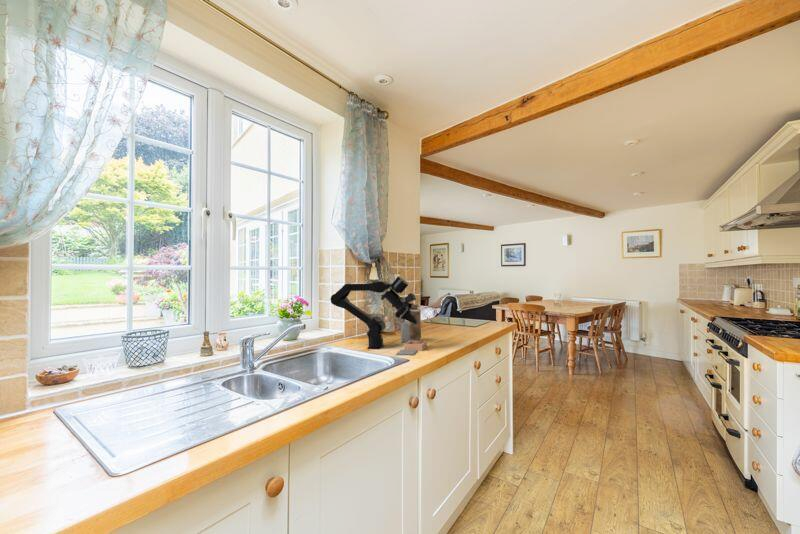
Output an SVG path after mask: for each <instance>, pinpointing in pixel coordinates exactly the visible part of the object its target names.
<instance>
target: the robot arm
mask: <svg viewBox="0 0 800 534" xmlns="http://www.w3.org/2000/svg"><path fill="white" fill-rule="evenodd" d="M408 286H409V283H408V282H407V281H406V280H405V279H403V278H402V277H401V276H397V277H396V278H395V280H394V281H393V282H392V283H389V282H387V281H386V280H379V281H375V282H371V283H345V284H344V285H342V287H340V289H338V291H336V292H335V293H333V294H332V295H331V296H330V303H331V304H332V305H333V306H336V307H338V308H341V309H344V310H346V311H347V312H349V313H350V314H352V315H353V316H354V317H356V318H357V319H359V321H362V322H363V323H364V324H366V326H367V327H368V329H369V330H368V331H367V332H366V334H367V337H368V346H367V349H368V350H370V349H373V350H380V349H382V348H383V347H385V346H384V338H383V331H385V330H386V328H387V327H386V326H387V325H386V322H385V321H384V319H382V318H380V316H378V315H376V316H374V317H373V316H371V315H370V314H368V313H366V312H365V311H364V310H362V309H361V308H360V307H358V306H356V305H355V304H353V303H352V302H351V301H350V299H349V298H348V297H349V294H350V293H351V292H354V291H355V292H358V291H361V292H365V291H366V292H367V291H369V292H373V293H380V294H381V293H383V294H381V295H380V296H381V299H380V300H381V301H384V300H385V299H386V300H387V301H388V303H390V305H391V307H392V308H395V309H396V312H394V315H395V317H396V319H402V320H404V321H407V322H409V321H410V322H412V323H415V324H416V323H417V321H416V320H415V319H414V317H413V316H412V315H411V313H410V309H411V305H415V304H414V303H413V302H414V301H416V300H417V298H416V295H415V294H414V293H408V294H407V296H405V297H403V296H400V294H403V292H404V291H405V290H406V288H407V287H408Z"/></svg>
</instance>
